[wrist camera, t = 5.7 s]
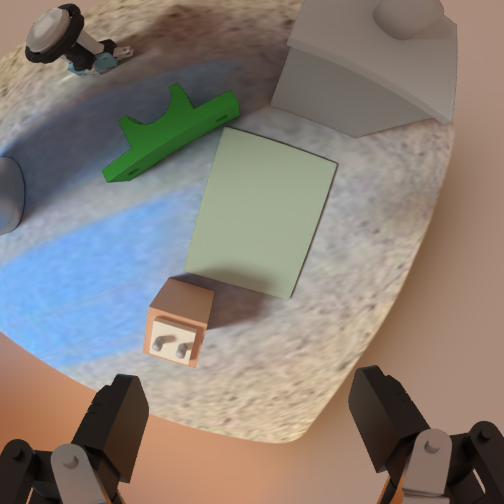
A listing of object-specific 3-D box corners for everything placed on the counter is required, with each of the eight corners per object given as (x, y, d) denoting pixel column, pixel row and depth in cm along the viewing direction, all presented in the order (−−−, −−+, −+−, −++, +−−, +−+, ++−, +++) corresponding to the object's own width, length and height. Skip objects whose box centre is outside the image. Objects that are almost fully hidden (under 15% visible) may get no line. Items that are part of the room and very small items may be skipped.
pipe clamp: (219, 82, 20) (215, 62, 16) (239, 116, 21) (239, 102, 17) (112, 147, 21) (88, 143, 17) (129, 181, 22) (106, 183, 18)
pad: (184, 269, 24) (183, 270, 24) (224, 127, 21) (224, 126, 21) (288, 298, 25) (288, 299, 25) (335, 164, 22) (336, 164, 22)
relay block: (161, 317, 26) (137, 363, 18) (168, 277, 24) (142, 316, 17) (204, 330, 26) (192, 380, 19) (215, 291, 25) (204, 336, 18)
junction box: (265, 107, 21) (303, -1, 5) (289, 40, 19) (337, -80, 4) (358, 143, 22) (495, 118, 6) (375, 76, 20) (487, 11, 4)
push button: (138, 34, 18) (96, -18, 8) (131, 78, 19) (77, 37, 10) (82, 49, 18) (29, 14, 8) (74, 92, 19) (11, 68, 9)
